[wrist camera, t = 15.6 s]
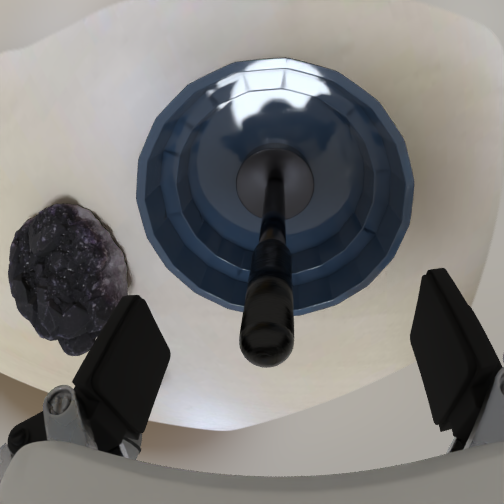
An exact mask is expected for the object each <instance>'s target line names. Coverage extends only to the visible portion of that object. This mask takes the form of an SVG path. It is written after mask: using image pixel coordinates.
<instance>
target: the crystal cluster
mask: <svg viewBox="0 0 504 504" xmlns="http://www.w3.org/2000/svg"><path fill="white" fill-rule="evenodd" d="M124 259H125V258H124V255H123V252H122V251H121V249H120V248H119V247H118V246H117V245H116V244H115V243H114V241H113V240H112V238H111V236H110V233H109V232H108V231H107V230H106V229H105V228H104V227H103V226H102V225H101V223H100V221H99V220H97V219H96V218H95V217H94V215H93V214H92V212H91V211H90V210H87V209H84V208H82V207H80V206H78V205H73V204H55V205H53V206H50V207H48V208H45V209H44V210H42V211H40V212H39V214H38V215H36V216H35V217H34V218H30V219H28V220H27V221H26V222H25V223H24V224H23V226H22V227H21V228H20V229H19V230H18V231H16V233H15V237H14V239H13V242H12V244H11V247H10V256H9V261H10V264H9V270H8V277H9V283H10V288H11V294H12V296H13V297H14V298H15V301H16V305H17V309H18V310H19V312H20V313H21V314H22V316H23V317H25V318H26V319H27V320H29V321H30V323H31V324H32V325H33V327H34V328H35V330H36V332H37V333H38V334H39V336H40V337H41V338H45V339H47V340H50V341H53V340H58V341H59V343H60V345H61V347H62V349H63V351H64V352H65V353H66V354H68V355H70V356H79V355H82V354H84V353H86V352H88V351H89V350H90V349H91V347H92V345H93V344H94V342H95V339H96V337H98V335H99V334H100V332H101V330H102V329H103V327H104V325H105V324H106V322H107V320H108V319H109V317H110V316H111V314H112V312H113V311H114V309H115V308H116V306H117V304H118V303H119V301H120V300H121V298H122V297H123V296H126V295H127V292H128V290H127V287H128V284H127V280H126V274H127V267H126V263H125V261H124Z"/></svg>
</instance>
